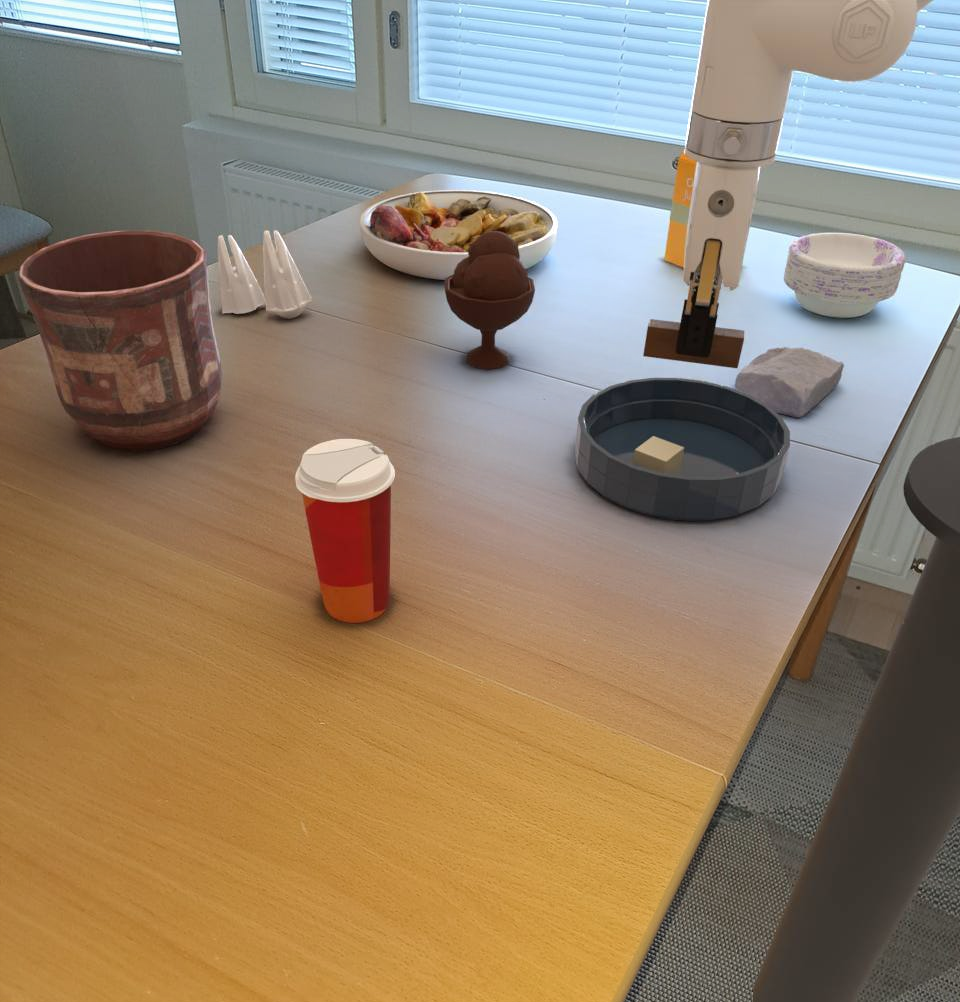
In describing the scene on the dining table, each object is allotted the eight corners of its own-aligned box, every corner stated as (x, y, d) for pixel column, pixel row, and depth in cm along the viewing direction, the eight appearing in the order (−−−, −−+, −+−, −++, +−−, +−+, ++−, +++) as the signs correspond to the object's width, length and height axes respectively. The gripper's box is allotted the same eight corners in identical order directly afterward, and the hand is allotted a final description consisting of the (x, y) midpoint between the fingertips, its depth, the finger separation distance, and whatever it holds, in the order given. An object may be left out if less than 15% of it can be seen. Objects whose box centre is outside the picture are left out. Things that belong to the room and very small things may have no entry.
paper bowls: (765, 285, 138) (777, 229, 133) (867, 285, 139) (883, 230, 134) (795, 328, 127) (809, 268, 122) (906, 328, 128) (925, 268, 122)
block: (648, 466, 98) (653, 435, 96) (678, 478, 96) (684, 447, 94) (630, 480, 96) (634, 449, 94) (661, 493, 94) (666, 461, 92)
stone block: (725, 411, 112) (807, 421, 107) (725, 372, 110) (810, 379, 104) (766, 380, 120) (845, 388, 114) (768, 342, 117) (849, 348, 111)
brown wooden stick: (737, 360, 91) (744, 330, 89) (737, 368, 90) (744, 338, 88) (644, 348, 93) (649, 318, 91) (643, 356, 91) (647, 326, 89)
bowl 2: (778, 432, 105) (789, 390, 102) (778, 538, 90) (791, 493, 86) (590, 408, 109) (594, 367, 106) (559, 506, 93) (563, 462, 90)
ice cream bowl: (432, 347, 120) (430, 225, 111) (514, 337, 123) (519, 217, 113) (458, 384, 113) (459, 256, 103) (544, 371, 116) (553, 246, 106)
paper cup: (371, 565, 85) (361, 425, 76) (418, 609, 81) (413, 466, 72) (294, 596, 82) (273, 454, 73) (339, 644, 77) (323, 498, 68)
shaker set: (315, 313, 128) (306, 228, 121) (302, 325, 125) (293, 238, 118) (234, 302, 130) (221, 218, 123) (220, 314, 127) (205, 228, 120)
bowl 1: (483, 210, 162) (484, 160, 157) (595, 264, 144) (600, 209, 139) (327, 241, 149) (323, 188, 144) (428, 304, 131) (427, 246, 126)
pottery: (235, 457, 99) (205, 286, 87) (59, 473, 96) (4, 298, 84) (231, 382, 112) (205, 224, 100) (77, 394, 109) (30, 233, 97)
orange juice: (705, 277, 141) (730, 128, 127) (663, 259, 146) (683, 115, 133) (740, 266, 144) (769, 120, 131) (698, 250, 149) (721, 108, 136)
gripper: (779, 167, 72) (730, 390, 84) (778, 119, 84) (735, 321, 96) (680, 158, 73) (645, 379, 85) (692, 111, 85) (661, 312, 97)
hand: (693, 347), depth 90 cm, fingers closed on brown wooden stick, 2 cm apart
